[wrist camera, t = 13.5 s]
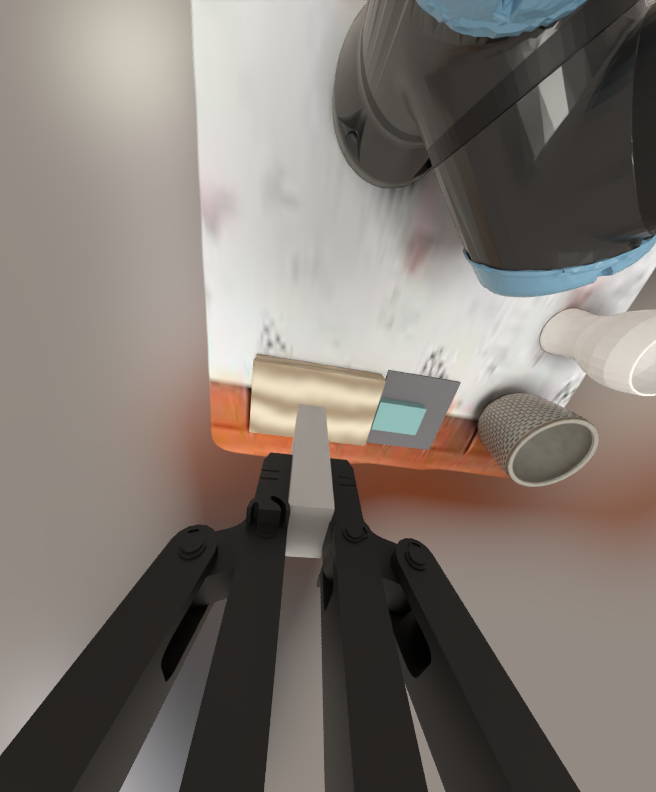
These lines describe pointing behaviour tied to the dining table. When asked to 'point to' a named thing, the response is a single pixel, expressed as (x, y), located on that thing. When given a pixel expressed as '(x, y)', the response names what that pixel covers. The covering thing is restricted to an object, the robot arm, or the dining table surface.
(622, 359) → the white vase
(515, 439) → the planter
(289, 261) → the dining table surface
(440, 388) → the mat
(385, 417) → the teal foam pad
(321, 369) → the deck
